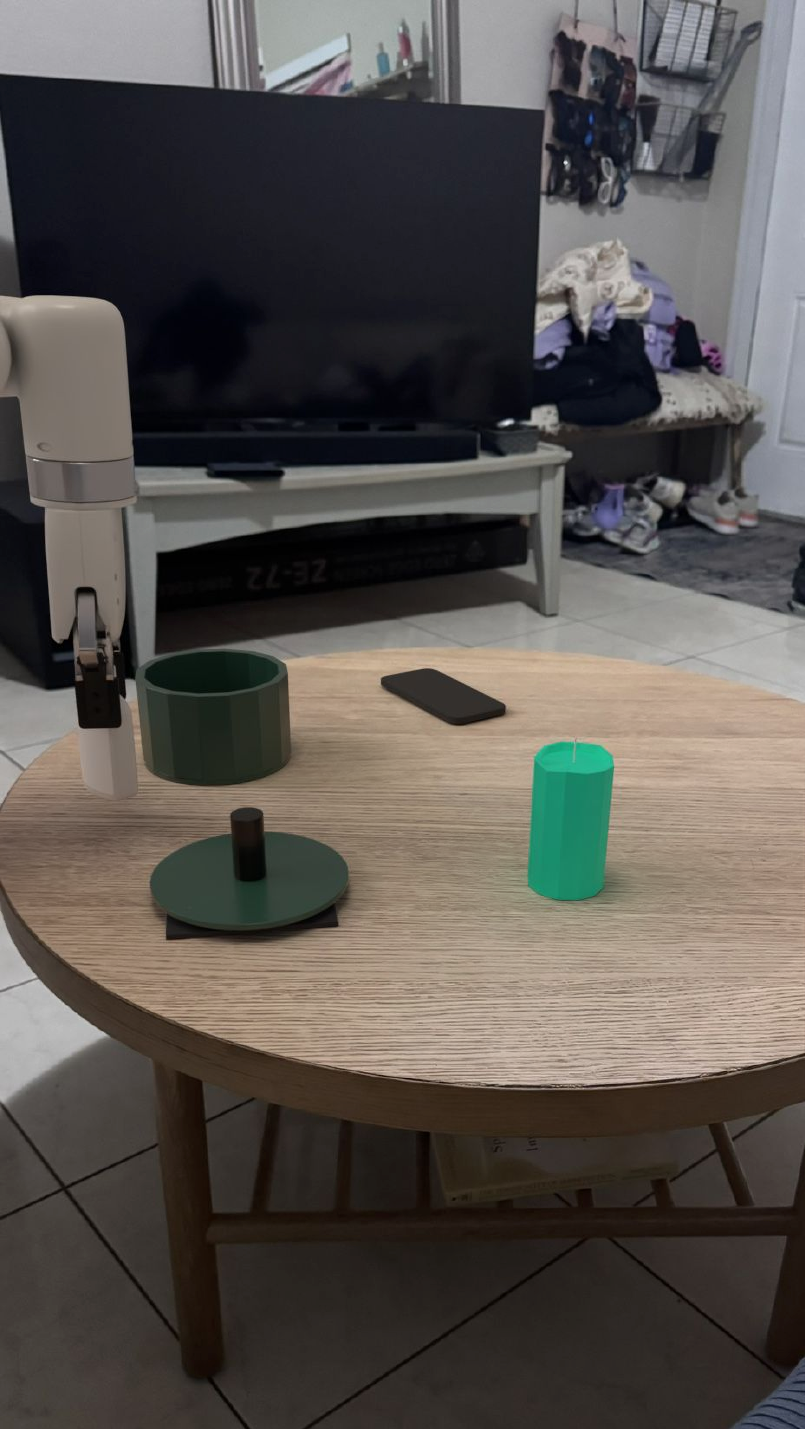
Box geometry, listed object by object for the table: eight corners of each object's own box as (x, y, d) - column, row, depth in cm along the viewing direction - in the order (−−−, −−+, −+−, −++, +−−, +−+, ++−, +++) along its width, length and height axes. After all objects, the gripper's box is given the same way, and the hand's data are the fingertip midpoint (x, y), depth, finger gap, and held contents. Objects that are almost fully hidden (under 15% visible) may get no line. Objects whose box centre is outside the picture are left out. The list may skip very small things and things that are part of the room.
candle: (561, 856, 94) (571, 716, 89) (619, 883, 90) (633, 739, 85) (510, 880, 90) (517, 735, 85) (568, 909, 86) (580, 759, 81)
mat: (166, 940, 81) (165, 935, 81) (170, 860, 91) (169, 856, 91) (338, 926, 83) (338, 921, 83) (323, 850, 94) (323, 846, 94)
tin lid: (146, 946, 79) (138, 867, 77) (154, 849, 92) (147, 779, 90) (359, 929, 82) (358, 852, 80) (338, 837, 95) (336, 769, 92)
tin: (141, 789, 103) (132, 698, 100) (147, 733, 115) (139, 651, 112) (295, 781, 106) (291, 692, 102) (285, 727, 118) (282, 646, 114)
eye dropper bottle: (83, 805, 93) (68, 661, 88) (82, 778, 98) (68, 640, 93) (139, 801, 94) (128, 659, 89) (136, 774, 99) (125, 638, 94)
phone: (453, 719, 119) (376, 677, 130) (453, 727, 119) (376, 684, 130) (511, 706, 123) (430, 666, 134) (510, 713, 123) (430, 673, 134)
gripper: (42, 461, 92) (65, 680, 100) (12, 501, 77) (41, 755, 85) (140, 463, 94) (155, 678, 102) (129, 503, 79) (147, 752, 87)
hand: (103, 711), depth 93 cm, fingers closed on eye dropper bottle, 5 cm apart
